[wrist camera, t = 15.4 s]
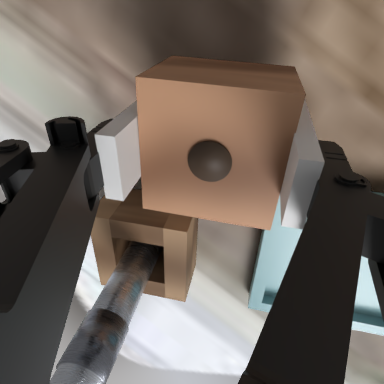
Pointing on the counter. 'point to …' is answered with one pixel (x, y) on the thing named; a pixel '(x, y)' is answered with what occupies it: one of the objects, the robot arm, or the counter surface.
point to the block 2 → (216, 137)
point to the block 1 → (146, 233)
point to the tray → (277, 265)
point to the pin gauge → (108, 320)
